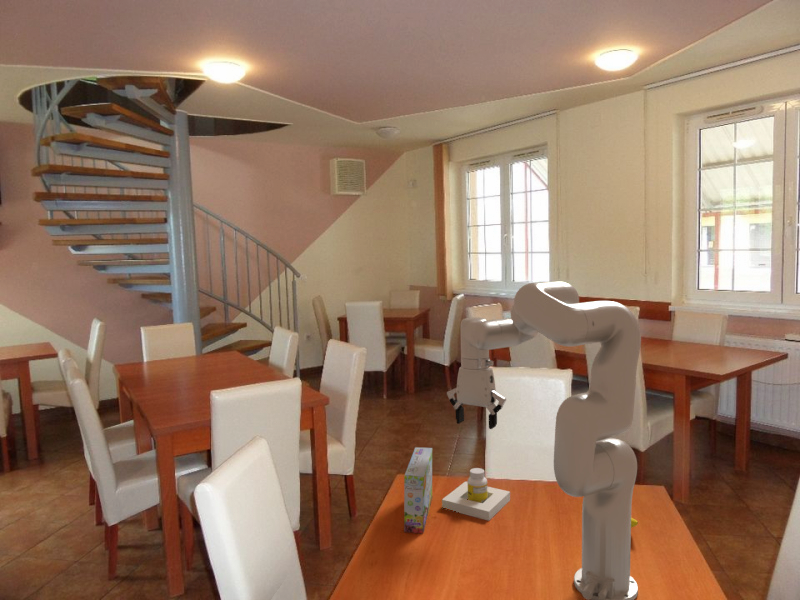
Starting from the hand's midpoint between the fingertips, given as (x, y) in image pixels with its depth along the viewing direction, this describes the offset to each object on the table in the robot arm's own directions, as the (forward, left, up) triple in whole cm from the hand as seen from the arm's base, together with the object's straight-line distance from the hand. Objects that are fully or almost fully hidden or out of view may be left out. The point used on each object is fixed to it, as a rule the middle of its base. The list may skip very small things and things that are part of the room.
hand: (476, 425), depth 158 cm
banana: (+9, -36, -23) cm, 43 cm away
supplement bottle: (0, 0, -23) cm, 23 cm away
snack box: (-13, +11, -23) cm, 28 cm away
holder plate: (0, 0, -23) cm, 23 cm away
